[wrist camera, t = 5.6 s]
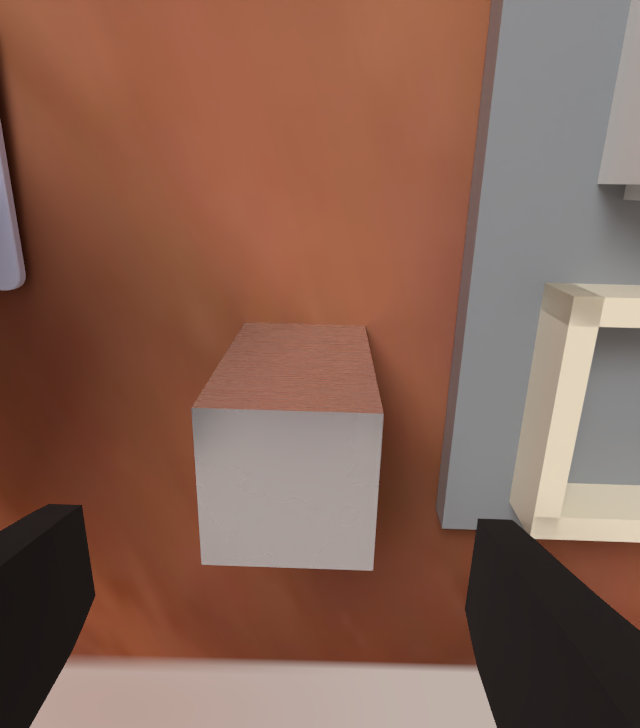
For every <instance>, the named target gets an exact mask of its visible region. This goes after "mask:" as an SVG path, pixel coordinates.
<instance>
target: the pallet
mask: <svg viewBox="0 0 640 728" xmlns="http://www.w3.org/2000/svg"><path fill="white" fill-rule="evenodd" d="M436 511H437V514H438V518H439V521H440V524H441V527H442V529H471V530H476V529H477V522H478V518H479V519H508V520H513V521H514V522H516V523H517V524H518V525H519V526H520V527H521V528H523V529H524V530H525V531H526V532H527V533H528V534H529V535H530V536H532V537H533V538H534V539H552V540H582V541H612V542H640V0H492V1H491V11H490V20H489V29H488V38H487V47H486V56H485V65H484V74H483V83H482V92H481V101H480V110H479V120H478V129H477V138H476V147H475V156H474V165H473V174H472V183H471V192H470V201H469V210H468V219H467V229H466V238H465V247H464V256H463V265H462V274H461V283H460V292H459V301H458V310H457V319H456V328H455V338H454V347H453V356H452V365H451V374H450V383H449V392H448V401H447V410H446V419H445V428H444V437H443V447H442V456H441V465H440V474H439V483H438V492H437V501H436Z"/></svg>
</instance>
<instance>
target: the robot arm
mask: <svg viewBox="0 0 640 728" xmlns="http://www.w3.org/2000/svg"><path fill="white" fill-rule="evenodd" d="M25 279H26V273H25V266H24V260H23V254H22V248H21V242H20V236H19V230H18V224H17V218H16V212H15V206H14V199H13V193H12V187H11V181H10V175H9V169H8V163H7V157H6V151H5V145H4V138H3V132H2V126H1V120H0V290H7V291H8V290H13V289H16V288H19V287H20V286H22V285H23V284H24V282H25ZM94 597H95V590H94V583H93V577H92V570H91V563H90V557H89V550H88V543H87V537H86V530H85V523H84V517H83V510H82V505H61V504H48V505H46V506H44V507H42V508H40V509H38V510H36V511H34V512H33V513H31V514H29V515H27V516H25V517H24V518H22V519H20V520H18V521H17V522H15V523H13V524H12V525H10V526H8V527H7V528H5V529H3V530H2V531H0V728H29V727H30V725H31V724H32V722H33V720H34V718H35V717H36V715H37V713H38V711H39V709H40V708H41V706H42V704H43V702H44V701H45V699H46V697H47V695H48V694H49V692H50V690H51V688H52V686H53V684H54V683H55V681H56V679H57V678H58V676H59V674H60V672H61V670H62V669H63V667H64V665H65V663H66V661H67V659H68V658H69V656H70V654H71V652H72V650H73V648H74V646H75V643H76V641H77V639H78V636H79V634H80V632H81V629H82V627H83V625H84V622H85V620H86V617H87V615H88V612H89V610H90V607H91V605H92V602H93V600H94ZM465 611H466V616H467V621H468V626H469V631H470V636H471V641H472V645H473V650H474V654H475V659H476V663H477V667H478V671H479V674H480V677H481V680H482V683H483V686H484V689H485V692H486V695H487V698H488V701H489V704H490V707H491V711H492V713H493V717H494V720H495V722H496V725H497V728H640V630H638V629H637V628H636V627H635V626H633V625H632V624H631V623H630V622H628V621H627V620H626V619H625V618H624V617H622V616H621V615H620V614H619V613H618V612H616V611H615V610H614V609H613V608H612V607H610V606H609V605H608V604H607V603H606V602H604V601H603V600H602V599H601V598H600V597H599V596H597V595H596V594H595V593H594V592H593V591H592V590H591V589H589V588H588V587H587V586H586V585H585V584H584V583H583V582H581V581H580V580H579V579H578V578H577V577H576V576H575V575H574V574H572V573H571V572H570V571H569V570H568V569H567V568H566V567H565V566H563V565H562V564H561V563H560V562H559V561H558V560H557V559H556V558H555V557H554V556H552V555H551V554H550V553H549V552H548V551H547V550H546V549H545V548H544V547H543V546H541V545H540V544H539V543H538V542H537V541H536V540H535V539H534V538H533V537H532V536H530V535H529V534H528V533H527V532H526V531H525V530H524V529H523V528H521V527H520V526H519V525H518V524H517V523H516V522H514V521H513V520H508V519H479V518H478V522H477V529H476V536H475V543H474V550H473V557H472V564H471V571H470V578H469V585H468V592H467V599H466V606H465Z"/></svg>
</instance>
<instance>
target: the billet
mask: <svg viewBox="0 0 640 728" xmlns="http://www.w3.org/2000/svg"><path fill="white" fill-rule="evenodd" d="M383 417H384V413H383V408H382V403H381V399H380V394H379V389H378V385H377V380H376V375H375V371H374V366H373V361H372V357H371V352H370V347H369V343H368V338H367V333H366V329H365V326H360V325H324V324H288V323H251V322H245V323H244V325H243V327H242V328H241V330H240V331H239V333H238V335H237V336H236V338H235V339H234V341H233V343H232V344H231V346H230V347H229V349H228V351H227V352H226V354H225V355H224V357H223V358H222V360H221V362H220V363H219V365H218V366H217V368H216V370H215V371H214V373H213V374H212V376H211V378H210V379H209V381H208V382H207V384H206V386H205V387H204V389H203V390H202V392H201V393H200V395H199V397H198V398H197V400H196V401H195V403H194V405H193V406H192V424H193V439H194V455H195V470H196V486H197V501H198V517H199V532H200V548H201V563H202V565H226V566H254V567H282V568H310V569H338V570H367V571H373V563H374V549H375V534H376V519H377V505H378V490H379V475H380V461H381V446H382V431H383Z"/></svg>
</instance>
